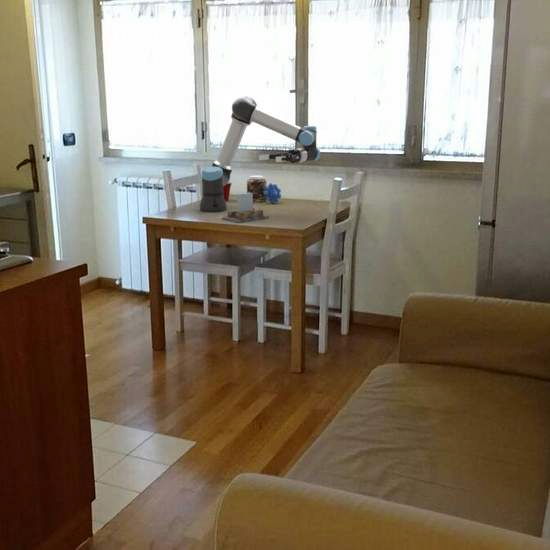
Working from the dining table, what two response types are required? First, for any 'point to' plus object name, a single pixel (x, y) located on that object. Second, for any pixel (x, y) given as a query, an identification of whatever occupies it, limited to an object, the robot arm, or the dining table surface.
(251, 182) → the jar
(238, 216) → the slot rack
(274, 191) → the blue gear
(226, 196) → the plastic cup
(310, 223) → the dining table surface
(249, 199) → the pale grey panel
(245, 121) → the robot arm
